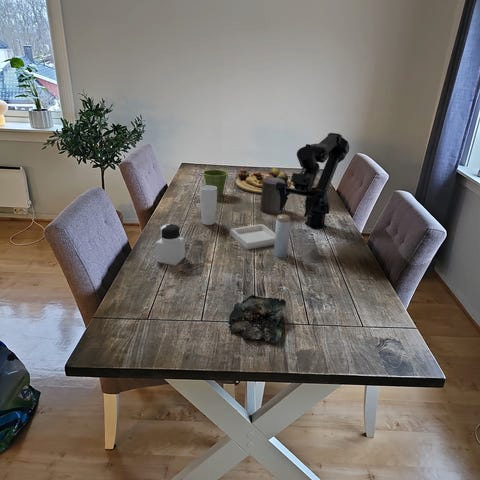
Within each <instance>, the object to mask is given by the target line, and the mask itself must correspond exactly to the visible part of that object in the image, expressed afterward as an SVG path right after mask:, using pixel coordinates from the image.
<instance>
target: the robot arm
mask: <svg viewBox="0 0 480 480" xmlns="http://www.w3.org/2000/svg"><path fill="white" fill-rule="evenodd" d="M349 151H350V145H349V141H348V140H346V139H345V138H344V137H343V135H342V134H340V133H335V132H329V133H327V136H326V137H324V138H323V139H322V140H321V141H319V142H318V143H312V144H308V143H306V144H305V146H302V147H301V148H299V149H298V150H297V151H296V157H297V159H298V163H299V165H300V168H302V169H301V171H300V172H299V173H296V172H292V175H291V177H290V180H291V181H290V182H293V184H292V185H293V186H294V188H290V187H288V184H287V183H283V182H277V183H276V184H275V187H274V188H275V190H276V192H277V194H278V195H279V196H280V211H283V210H284V208H285V206H286V204H287V202H288V199H289V197H288V196H289V195H290V194H292V195H297V196H301V197H302V196H303V197H305V202H304V204H305V205H304V207H305V210H304V213H303V218H304V217H305V218H306V221H305V222H304V224H305V225H307V226H308V227H310V228H312V229H315V230H316V229H321V228H326V227H327V224H325V222H326V221H325V220H326V215H328V214H330V209H331V205H330V202H329V197H328V190H329V188H330V185H331V183H332V180H333V178H334V175H335V173H336V170H337V167H338V165H339V164H340V163H341V162H342V161H344V160H345V158H346V156H347V154H348V153H349ZM320 163H321V164H324V168H323V170H322V172H321V174H320V177H319V180H318V182H317V184H316V186H315V180H316V178H317V176H318V174H319V173H320V168H321V167H320ZM314 186H315V187H314Z"/></svg>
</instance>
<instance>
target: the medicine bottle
mask: <svg viewBox="0 0 480 480" xmlns="http://www.w3.org/2000/svg"><path fill="white" fill-rule="evenodd" d="M159 229H160V239H158V240H157V241H156V242H155V258H156V259H155V260H156V263H160V264H164V265H171V266H177V265H178V264H179V263H180V262H181V261H183V260H184V258H185V257H186V239H185V237H181V236H180V235H181V234H180V226H178V225H177V224H175V223H174V224H173V223H168V224H164V225H161V227H160V228H159Z"/></svg>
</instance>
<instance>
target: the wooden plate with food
mask: <svg viewBox="0 0 480 480" xmlns="http://www.w3.org/2000/svg"><path fill="white" fill-rule="evenodd" d="M237 176H238V177H237V178H236V179H235V186H236V187H237V188H238V189H239V190H241V191H243V192H245V193H248V194H253V195H258V196H261V194H262V182H263V179H264V178H279V179H282V180H284V181H285V183H287V184H288V187H290V188H294V186H293V185H292V184H293V182H290V181H291V178H289V176H288V174H287V173H285V172H284V171H282V172H280V171H279V169H278V168H277V167H275V166H274V167H271V168H270V170H269V172H268V173H266V172H259V171H254V172H252V173H251V174H250V172H249V171H248V170H246V169H245V168H241V169H240V170H239V171H238V174H237Z"/></svg>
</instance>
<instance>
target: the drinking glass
mask: <svg viewBox="0 0 480 480" xmlns="http://www.w3.org/2000/svg"><path fill="white" fill-rule="evenodd" d="M199 202H200V204H199V205H200V212H201V213H200V214H201V224H203V225H204V226H212V225H214V224H215V223H216V214H217V213H216V211H217V203H218V197H217V187H216V186H212V185H206V184H205V185H201V186H200V187H199Z"/></svg>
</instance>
